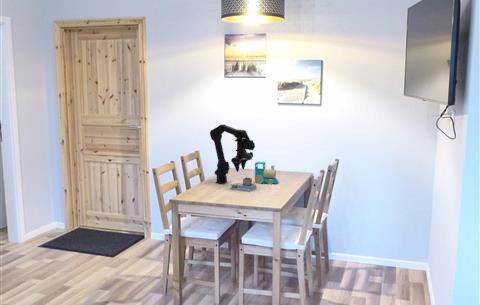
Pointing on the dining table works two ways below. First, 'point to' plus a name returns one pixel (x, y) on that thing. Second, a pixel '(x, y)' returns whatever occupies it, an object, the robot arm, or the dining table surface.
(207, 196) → the dining table surface
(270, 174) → the toy train
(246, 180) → the grey block with tab
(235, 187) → the chassis
